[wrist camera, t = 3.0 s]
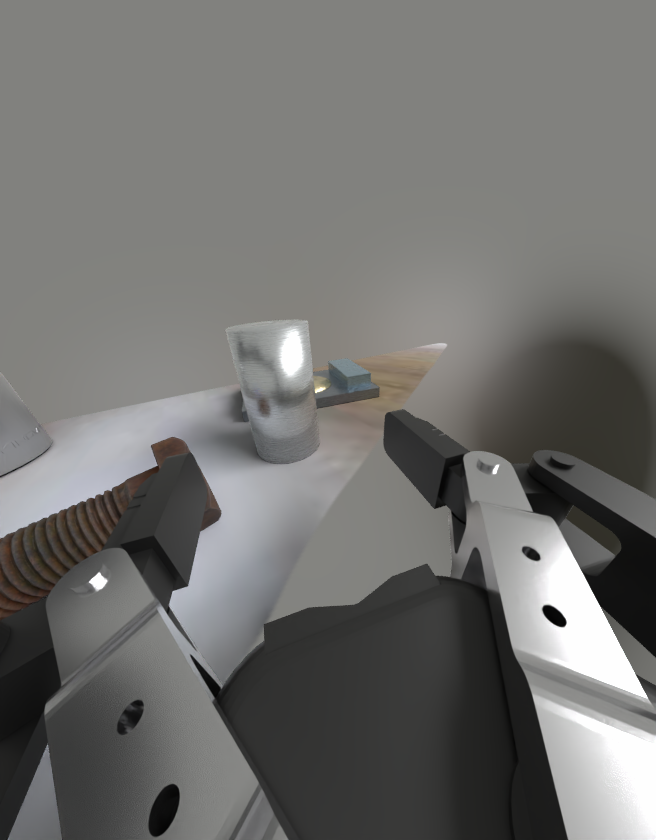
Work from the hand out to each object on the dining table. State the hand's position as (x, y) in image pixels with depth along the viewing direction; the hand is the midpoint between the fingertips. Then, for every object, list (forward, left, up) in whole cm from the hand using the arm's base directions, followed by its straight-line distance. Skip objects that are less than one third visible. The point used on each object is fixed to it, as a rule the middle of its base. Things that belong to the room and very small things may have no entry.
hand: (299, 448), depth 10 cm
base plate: (+4, +21, -6) cm, 22 cm away
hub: (0, +10, -6) cm, 11 cm away
